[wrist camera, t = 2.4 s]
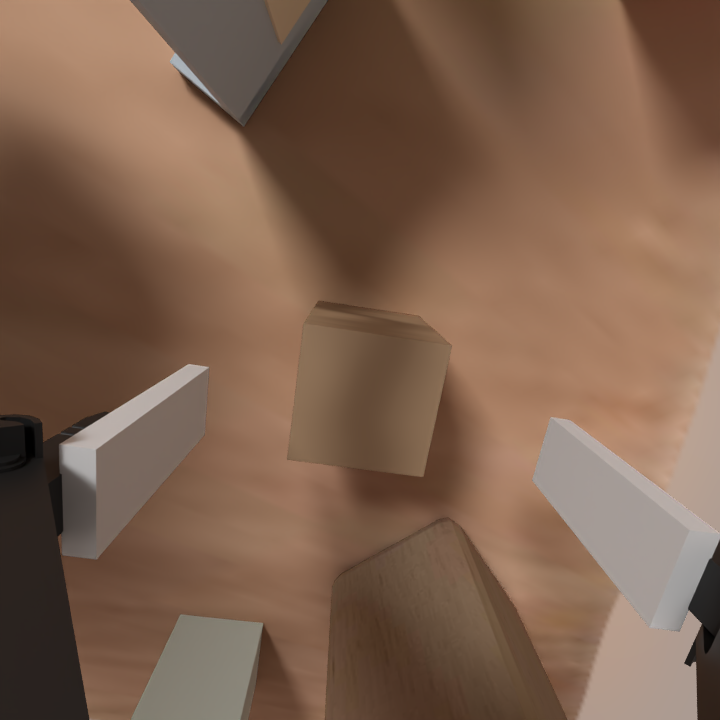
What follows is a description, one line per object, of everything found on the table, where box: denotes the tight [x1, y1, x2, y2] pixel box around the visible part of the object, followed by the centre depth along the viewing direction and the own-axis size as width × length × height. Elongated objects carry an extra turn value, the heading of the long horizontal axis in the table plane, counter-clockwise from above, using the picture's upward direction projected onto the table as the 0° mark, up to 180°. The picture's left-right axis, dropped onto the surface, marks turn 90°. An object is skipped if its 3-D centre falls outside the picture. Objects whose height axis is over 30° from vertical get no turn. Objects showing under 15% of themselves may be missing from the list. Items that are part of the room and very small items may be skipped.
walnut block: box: [287, 301, 452, 477], centre depth 20 cm, size 6×6×8 cm
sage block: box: [131, 614, 263, 720], centre depth 26 cm, size 6×6×8 cm
